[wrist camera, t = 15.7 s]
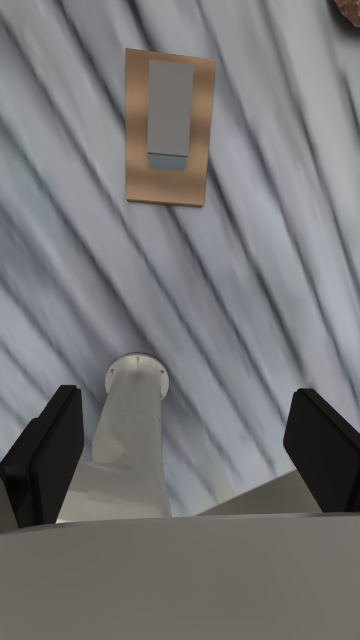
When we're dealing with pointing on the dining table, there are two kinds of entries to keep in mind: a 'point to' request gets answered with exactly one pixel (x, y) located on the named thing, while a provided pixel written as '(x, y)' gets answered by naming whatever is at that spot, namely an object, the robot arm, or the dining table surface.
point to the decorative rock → (350, 10)
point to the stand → (139, 176)
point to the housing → (169, 114)
